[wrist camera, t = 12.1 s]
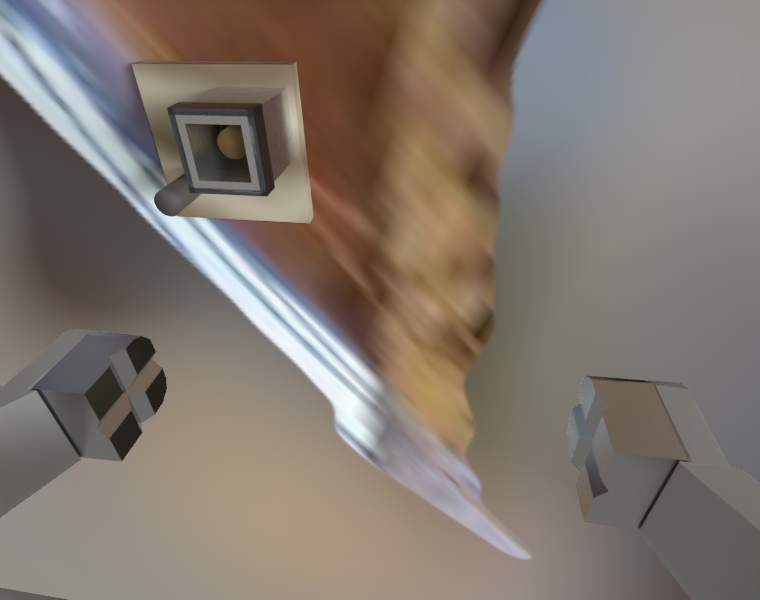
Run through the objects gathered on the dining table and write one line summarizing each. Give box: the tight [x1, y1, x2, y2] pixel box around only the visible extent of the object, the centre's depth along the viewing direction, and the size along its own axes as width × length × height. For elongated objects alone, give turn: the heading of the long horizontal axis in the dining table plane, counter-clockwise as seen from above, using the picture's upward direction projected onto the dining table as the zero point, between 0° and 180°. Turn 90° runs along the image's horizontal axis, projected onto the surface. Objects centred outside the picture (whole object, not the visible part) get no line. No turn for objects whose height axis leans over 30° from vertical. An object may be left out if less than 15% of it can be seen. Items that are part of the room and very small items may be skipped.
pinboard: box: [132, 61, 313, 223], centre depth 35 cm, size 12×12×6 cm
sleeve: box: [167, 87, 296, 197], centre depth 32 cm, size 5×5×7 cm
